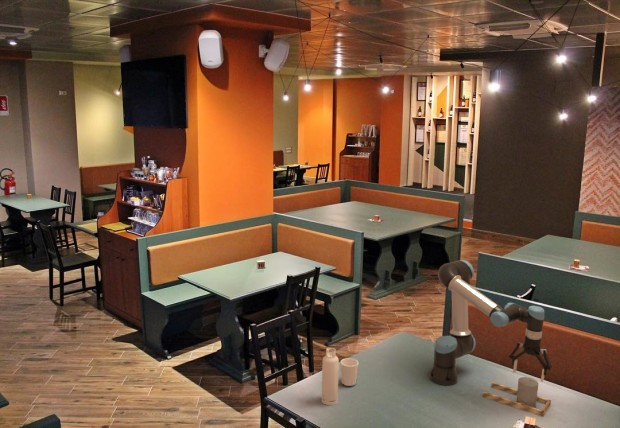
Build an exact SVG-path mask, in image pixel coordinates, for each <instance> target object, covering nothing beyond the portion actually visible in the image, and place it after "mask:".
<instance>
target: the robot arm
mask: <svg viewBox="0 0 620 428" xmlns="http://www.w3.org/2000/svg"><path fill="white" fill-rule="evenodd" d="M474 275H475V270H474V267H473V265H472V264H471V262H470V261H467V260H466V259H459V260H455V261H451V262H446V263H443V264H442V265H441V266H440V267H439V269H438V272H437V277H438V280H439V282H440V284H441V285H442V286H444V287H445V288H446V289H447V290H448V291H451V314H452V315H451V317H452V318H451V319H452V329H450V330H449V335H441V336H439V337H437V338H436V339H435V343H434V354H433V356H434V357H433V365H432V367H431V370H430V371H429V372H430V373H429V379H430V380H431V382H434V383H435V384H438V385H439V386H440V385H442V386H453V385H455V384H457V383H458V372H457V369H456V362H457V359H459V358H461V357H464V356H467V355H469V354H471V353H472V352H474V350H475V349H476V338H475V337H474V335H473V334H472V331H471V330H470V329H469V306H468V305H469V303H470V304H471V305H472V306H473V307H475V308H476V309H477V310H479V311H481V312H482V313H483V314H484V315H486V316H488V317H489V318H490V322H491V324H492V325H493V326H494V327H497V328H501V327H506V326H507V325H510V324H512V323H515V322H521V323H524V324H526V327H525V336H524V342H523V343H522V342H521V341H518V342H517V344H516V347H515V348H514V349H513V351H512V352H511V353H510V354H509V356H508V358H509V359H512V362H511V365H512V366H513V371H512V373H514V374H515V373H516V372H517V369H518V368H517V367H518V359H519V357H521V356H522V355H525V354H527V355H530V356H532V357H535V358H536V359H537V360H538V362H539V363H540V365H541V366H542V371H541V377H540V378H541V379H540V382H544V380H545V376H547V374H548V370H549V371H551V370H552V369H553V366H552V363H551V361H550V358H549V356H548V349H547V348H541V343H542V337H543V326H544V322H545V321H544V320H545V309H544V308H543V307H541V306H537V305H530V306H528V307H525V306H522V305H520V304H517V303H514V302H508V303H506V304H505V305H504V308H503V307H502V306H501V305H498V304H497V303H496V302H494V301H493V300H492V299H490V298H489V297H487V296H486V295H485V294H483V293H482V292H481V291H479V290H477V289H476V288H475V287H474V286H472V285H471V279H473V277H474ZM520 348H523V350H522V351H520V352H518V353H517V354H516V352H517V351H518V350H519V349H520ZM515 354H516V355H515ZM542 355H543V357H542ZM543 358H544V359H543Z"/></svg>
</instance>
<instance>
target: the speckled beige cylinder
mask: <svg viewBox="0 0 620 428" xmlns="http://www.w3.org/2000/svg"><path fill="white" fill-rule="evenodd" d="M517 381H518V382H517V389H516V390H517V395H516V400H515V402H518V403H521V402H522V403H525V405H527V406H530V407H533V408H536V407H537V402H536V401H537V396H538V390H539V382H538V380H536V379H533V378H531V377H526V376H524V377H520V378H518V379H517Z"/></svg>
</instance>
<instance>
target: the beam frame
mask: <svg viewBox="0 0 620 428" xmlns="http://www.w3.org/2000/svg"><path fill="white" fill-rule="evenodd" d="M490 387H491V388H493V389H496V390H499V391H502V392H505V393H509V394H512V395H515V396H517V390H518V389H516V388H512V387H510V386H506V385H503V384H500V383H497V382H494V381H491V386H490ZM482 398H486V399H488V400H492V401H495V402H497V403H500V404H504V405H507V406H510V407H512V408H515V409H519V410H522V411H525V412H528V413H531V414H534V415H537V416H539V417H542V418H544V417H545V414H546V413H547V412H548V410H549V408H550V406H551V402H552V400H551V399H548V398H544V397H542V396H538V395H537V401H536V403H539V404H543V405H544V406H543V408H541V409H539V408H536V407H535V408H533V407H530V406H527V405H525V403H522V402H521V403H518V402H516V400H515V401H514V400H512V399H509V398H505V397H502V396H499V395H497V394H493V393H490V392H487V391H483V392H482Z"/></svg>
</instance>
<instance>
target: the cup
mask: <svg viewBox="0 0 620 428" xmlns="http://www.w3.org/2000/svg"><path fill="white" fill-rule="evenodd" d="M359 363H360V362H359V361H358V360H357V359H356V358H352V357H350V358H349V357H347V358H343V359H341V360H339V364H340V373H341V385H343V384H344V386H345V387H346V386H347V387H354V386H355V385H356V383H357V377H358V370H359ZM347 387H346V388H347Z"/></svg>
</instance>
